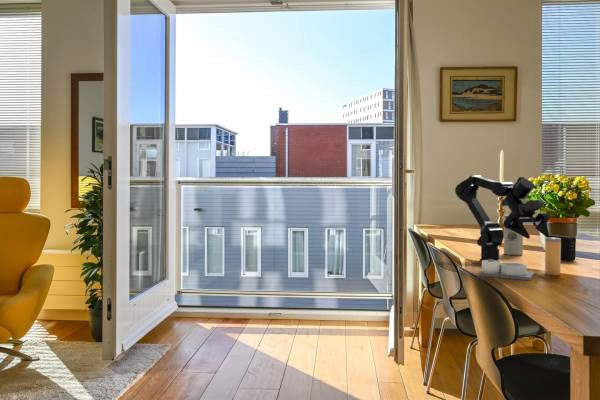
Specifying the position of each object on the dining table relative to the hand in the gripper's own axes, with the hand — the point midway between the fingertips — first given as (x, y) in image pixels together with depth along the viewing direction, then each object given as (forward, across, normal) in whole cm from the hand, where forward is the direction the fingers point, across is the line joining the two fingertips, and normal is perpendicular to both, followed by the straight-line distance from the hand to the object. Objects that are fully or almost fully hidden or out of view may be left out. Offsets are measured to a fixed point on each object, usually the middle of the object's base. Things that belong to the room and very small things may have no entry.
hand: (538, 237), depth 188 cm
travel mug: (-16, +21, +34) cm, 43 cm away
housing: (+11, -17, +7) cm, 21 cm away
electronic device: (-3, +29, +21) cm, 36 cm away
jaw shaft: (+14, 0, +4) cm, 14 cm away
